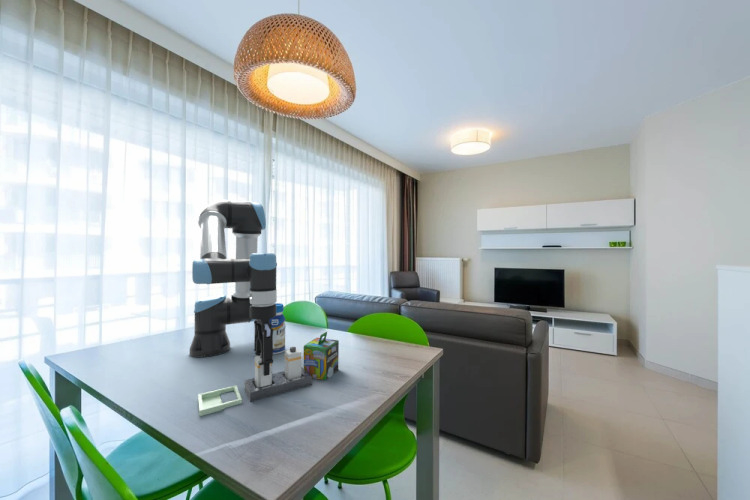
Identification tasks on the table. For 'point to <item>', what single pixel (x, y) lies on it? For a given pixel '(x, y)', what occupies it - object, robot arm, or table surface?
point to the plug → (259, 371)
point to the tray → (216, 400)
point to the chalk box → (321, 357)
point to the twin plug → (292, 363)
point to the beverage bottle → (278, 329)
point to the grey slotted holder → (277, 385)
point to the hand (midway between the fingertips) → (263, 380)
